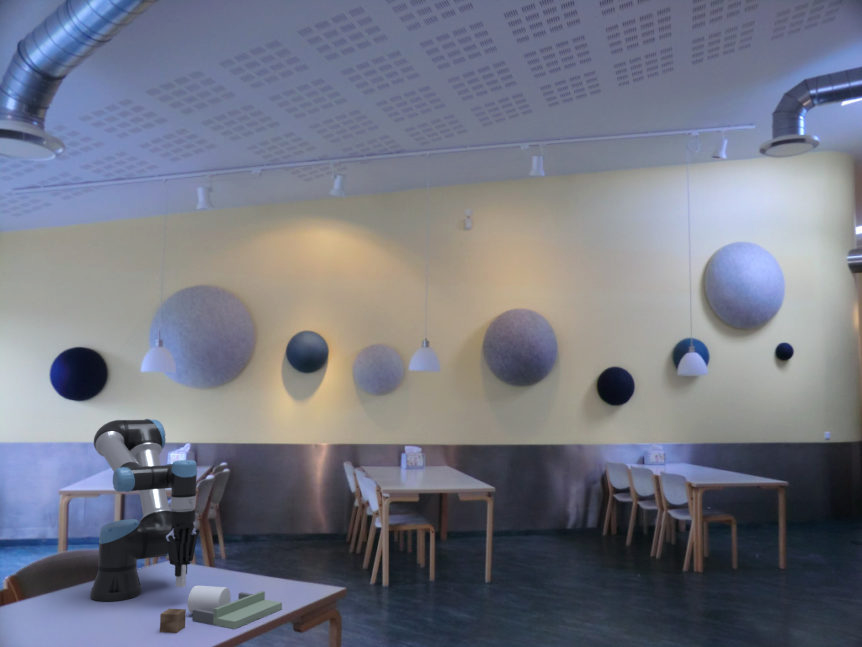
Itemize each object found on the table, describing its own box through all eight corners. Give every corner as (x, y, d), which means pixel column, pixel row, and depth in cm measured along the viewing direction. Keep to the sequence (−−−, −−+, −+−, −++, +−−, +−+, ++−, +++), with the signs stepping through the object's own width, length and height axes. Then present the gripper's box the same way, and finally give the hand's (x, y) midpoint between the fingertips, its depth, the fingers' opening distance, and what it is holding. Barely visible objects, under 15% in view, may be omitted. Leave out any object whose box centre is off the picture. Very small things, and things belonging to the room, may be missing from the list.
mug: (217, 619, 212) (218, 591, 213) (186, 617, 214) (187, 589, 215) (236, 607, 224) (237, 581, 225) (207, 605, 226) (207, 579, 227)
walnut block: (159, 632, 201) (160, 613, 201) (168, 626, 206) (169, 608, 206) (176, 633, 200) (177, 614, 201) (185, 627, 205) (185, 609, 206)
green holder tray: (192, 620, 211) (193, 604, 211) (241, 601, 230) (242, 587, 230) (234, 629, 204) (235, 612, 204) (281, 609, 222) (282, 594, 223)
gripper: (176, 513, 223) (173, 592, 220) (206, 507, 234) (204, 582, 232) (158, 511, 226) (155, 589, 223) (189, 506, 237) (187, 580, 235)
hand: (180, 586), depth 228 cm, fingers closed
